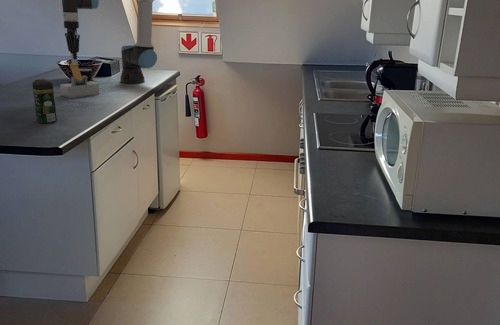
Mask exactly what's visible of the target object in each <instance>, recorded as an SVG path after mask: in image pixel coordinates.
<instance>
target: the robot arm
mask: <svg viewBox="0 0 500 325" xmlns="http://www.w3.org/2000/svg"><path fill="white" fill-rule="evenodd" d="M102 1H103V0H61V5H62V17H63V20H64V21H63V28H65V29H66V32H65V33H64V36H65V40H66V44H67V49H68V52H70V57H71V58H70V59H71V61H72V65H78V66H79V63H78V53H79V52H80V38H81V35H80V34H78V30H77V29H79V28H80V24H79V23H80V22H79V10H96V9H98V8H99V3H100V2H102ZM136 1H137V20H136V21H137V24H136V26H137V27H136V43H135V44H130V45H129V44H128V45H122V46H121V50H120V53H121V64H122V65H121V66H122V70H121V75H120V79H119V80H120V83H122V84H142V83H145V76H144V74H143V69H147V70H148V69H151V68H153V67H154V66H155V65H156V63H157V62H158V55H157V52H156V51H155V49H154V48H155V46H154V44H153V43H152V39H153V38H152V37H153V36H152V33H153V31H152V30H153V28H152V26H153V2H155V0H136Z"/></svg>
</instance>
